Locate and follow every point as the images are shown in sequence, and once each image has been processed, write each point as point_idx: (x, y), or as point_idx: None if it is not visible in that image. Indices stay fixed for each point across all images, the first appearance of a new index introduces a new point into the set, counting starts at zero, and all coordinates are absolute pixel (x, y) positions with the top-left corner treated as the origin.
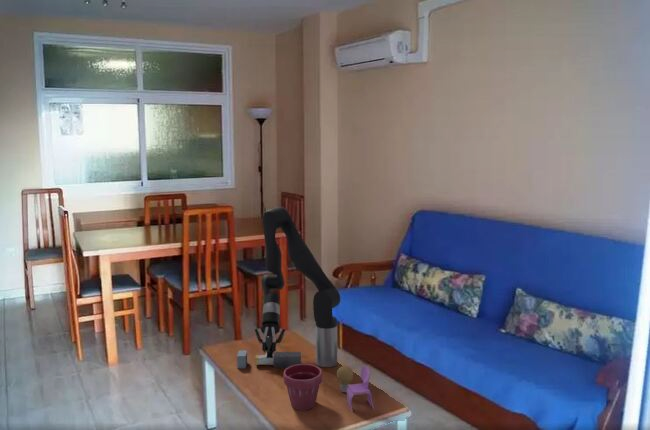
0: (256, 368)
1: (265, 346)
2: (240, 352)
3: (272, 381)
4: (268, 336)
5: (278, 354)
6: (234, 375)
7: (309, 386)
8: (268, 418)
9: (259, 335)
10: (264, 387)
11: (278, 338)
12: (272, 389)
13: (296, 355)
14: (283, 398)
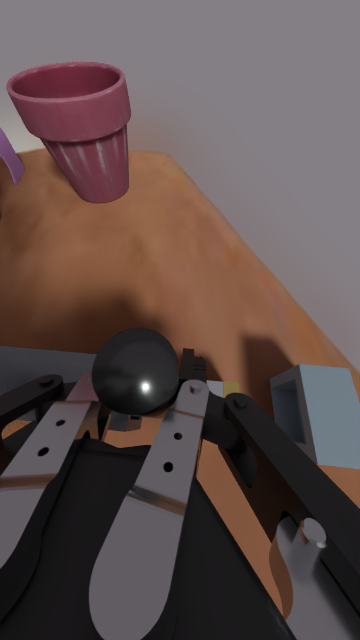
0: (221, 373)
1: (181, 363)
2: (351, 427)
3: (161, 273)
4: (142, 367)
5: None
6: (295, 320)
7: (75, 90)
8: (175, 161)
9: (263, 447)
10: (184, 246)
11: (40, 390)
12: (163, 236)
13: (14, 360)
14: (141, 205)
